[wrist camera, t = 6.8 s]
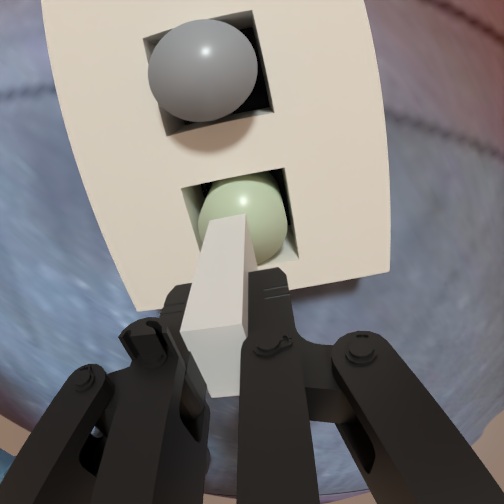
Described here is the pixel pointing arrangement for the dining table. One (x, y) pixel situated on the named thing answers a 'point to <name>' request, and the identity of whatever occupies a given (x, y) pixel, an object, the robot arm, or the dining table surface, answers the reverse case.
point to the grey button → (202, 70)
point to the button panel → (227, 136)
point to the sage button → (249, 210)
